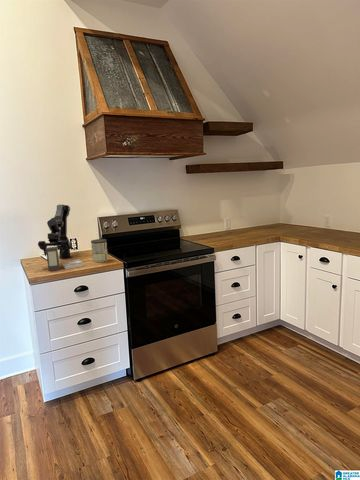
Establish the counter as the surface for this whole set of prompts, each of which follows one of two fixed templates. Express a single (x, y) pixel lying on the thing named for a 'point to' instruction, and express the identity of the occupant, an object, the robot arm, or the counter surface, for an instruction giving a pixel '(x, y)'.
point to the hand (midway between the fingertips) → (52, 255)
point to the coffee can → (99, 250)
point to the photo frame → (52, 258)
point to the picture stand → (72, 264)
